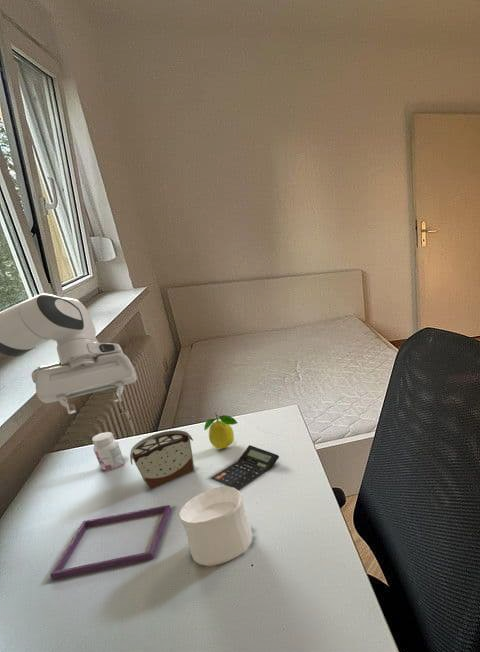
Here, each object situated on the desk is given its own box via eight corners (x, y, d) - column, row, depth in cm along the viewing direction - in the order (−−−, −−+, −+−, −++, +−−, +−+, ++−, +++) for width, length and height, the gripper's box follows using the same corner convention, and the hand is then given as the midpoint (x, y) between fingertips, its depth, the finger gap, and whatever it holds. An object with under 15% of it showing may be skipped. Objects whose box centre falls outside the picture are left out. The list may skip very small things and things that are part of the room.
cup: (265, 538, 79) (254, 493, 75) (220, 579, 71) (206, 531, 67) (228, 522, 83) (216, 480, 79) (181, 560, 75) (166, 514, 71)
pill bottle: (97, 472, 102) (84, 441, 99) (112, 461, 106) (101, 430, 103) (115, 473, 101) (102, 442, 98) (130, 461, 105) (119, 431, 102)
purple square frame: (54, 583, 72) (49, 574, 71) (86, 529, 84) (83, 521, 83) (154, 562, 75) (151, 553, 74) (172, 512, 87) (169, 504, 86)
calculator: (211, 481, 96) (207, 469, 95) (253, 454, 105) (250, 444, 104) (239, 493, 91) (236, 481, 90) (281, 465, 100) (278, 453, 99)
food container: (191, 460, 104) (180, 423, 100) (201, 470, 100) (191, 432, 96) (134, 484, 97) (120, 445, 93) (143, 496, 92) (128, 456, 88)
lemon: (243, 447, 109) (234, 411, 105) (221, 458, 105) (211, 420, 101) (229, 439, 113) (221, 404, 109) (207, 449, 109) (197, 413, 105)
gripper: (25, 362, 102) (37, 415, 98) (125, 342, 112) (140, 389, 109) (34, 374, 107) (46, 425, 104) (129, 354, 117) (144, 399, 114)
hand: (95, 406), depth 106 cm, fingers open, 8 cm apart
